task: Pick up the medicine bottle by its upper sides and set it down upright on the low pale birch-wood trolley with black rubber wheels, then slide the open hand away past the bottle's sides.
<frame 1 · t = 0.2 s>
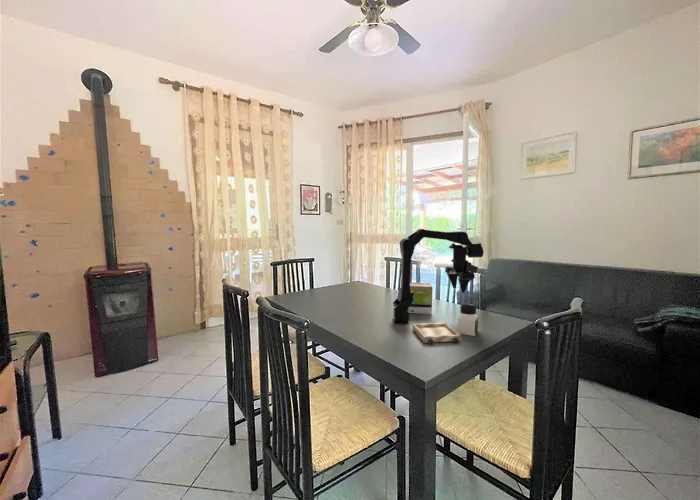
hand: (458, 290, 144), 14 cm above the table, tool pointing down, fingers open, 9 cm apart
medicine bottle: (467, 332, 130), on the table
tea box: (416, 311, 161), on the table
trolley: (435, 335, 127), on the table
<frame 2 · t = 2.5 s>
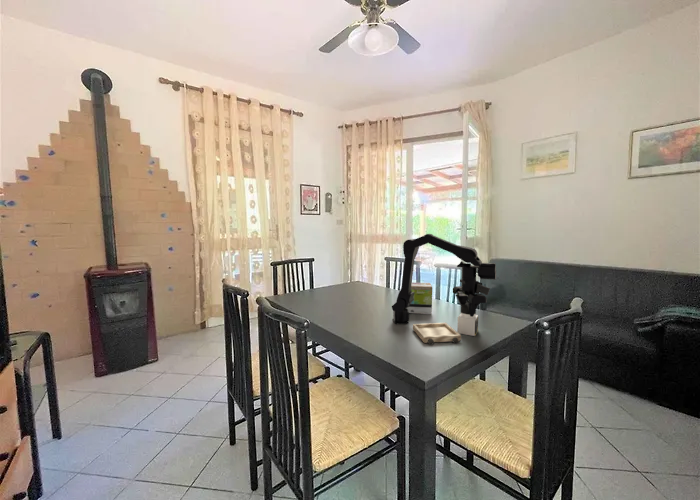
hand: (468, 314, 129), 8 cm above the table, tool pointing down, fingers closed on medicine bottle, 6 cm apart
medicine bottle: (467, 332, 130), on the table, touching gripper
everything else where it was.
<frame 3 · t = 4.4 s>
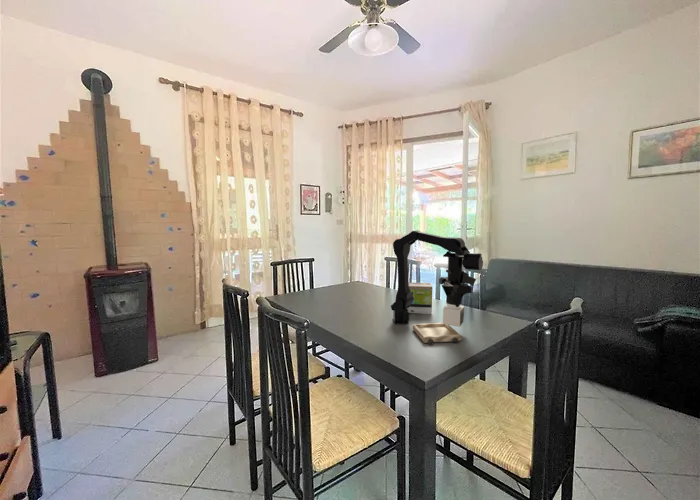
hand: (453, 304, 127), 13 cm above the table, tool pointing down, fingers closed on medicine bottle, 6 cm apart
medicine bottle: (453, 323, 128), point 4 cm above the table, touching gripper
everything else where it was.
when the fingers open (10 cm above the table, at t = 6.4 s): medicine bottle stays where it is, resting on trolley.
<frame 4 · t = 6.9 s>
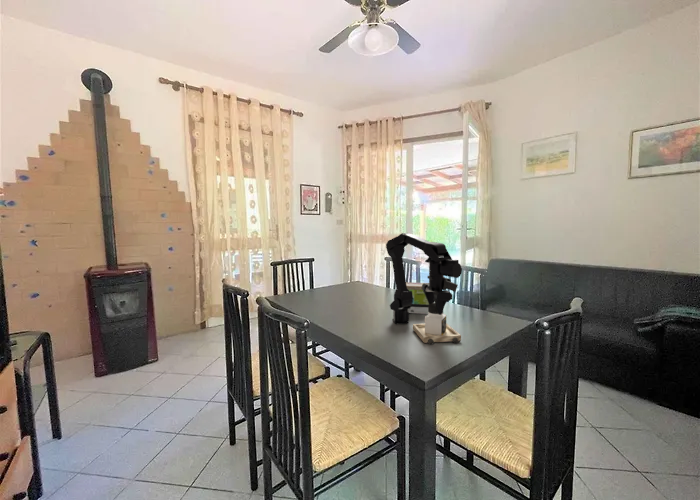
hand: (435, 311, 125), 10 cm above the table, tool pointing down, fingers open, 9 cm apart
medicine bottle: (435, 332, 126), point 1 cm above the table, touching trolley
everything else where it was.
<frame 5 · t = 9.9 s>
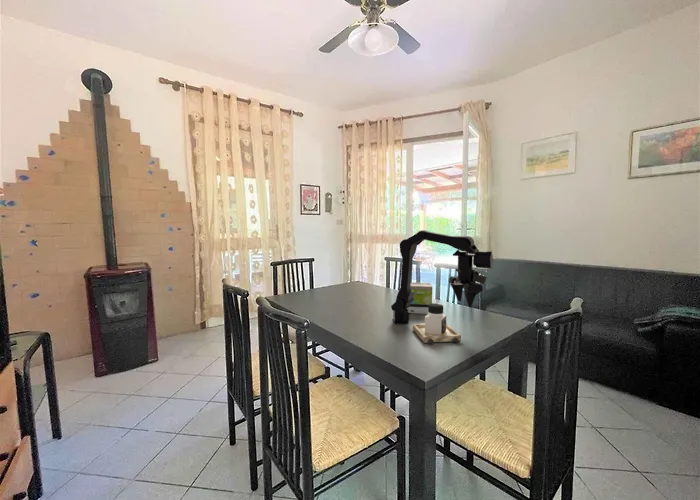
hand: (464, 303, 126), 13 cm above the table, tool pointing down, fingers open, 9 cm apart
nothing on the table moved.
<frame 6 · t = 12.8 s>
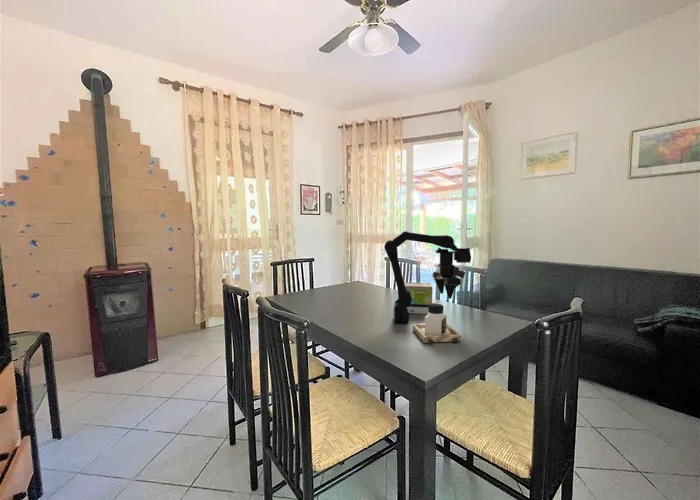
hand: (445, 296, 140), 13 cm above the table, tool pointing down, fingers open, 9 cm apart
nothing on the table moved.
at the end: medicine bottle inside the target area on the trolley (0.1 cm from its centre), point 1.3 cm above the trolley's base; medicine bottle tilted 0°; the gripper is holding nothing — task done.
